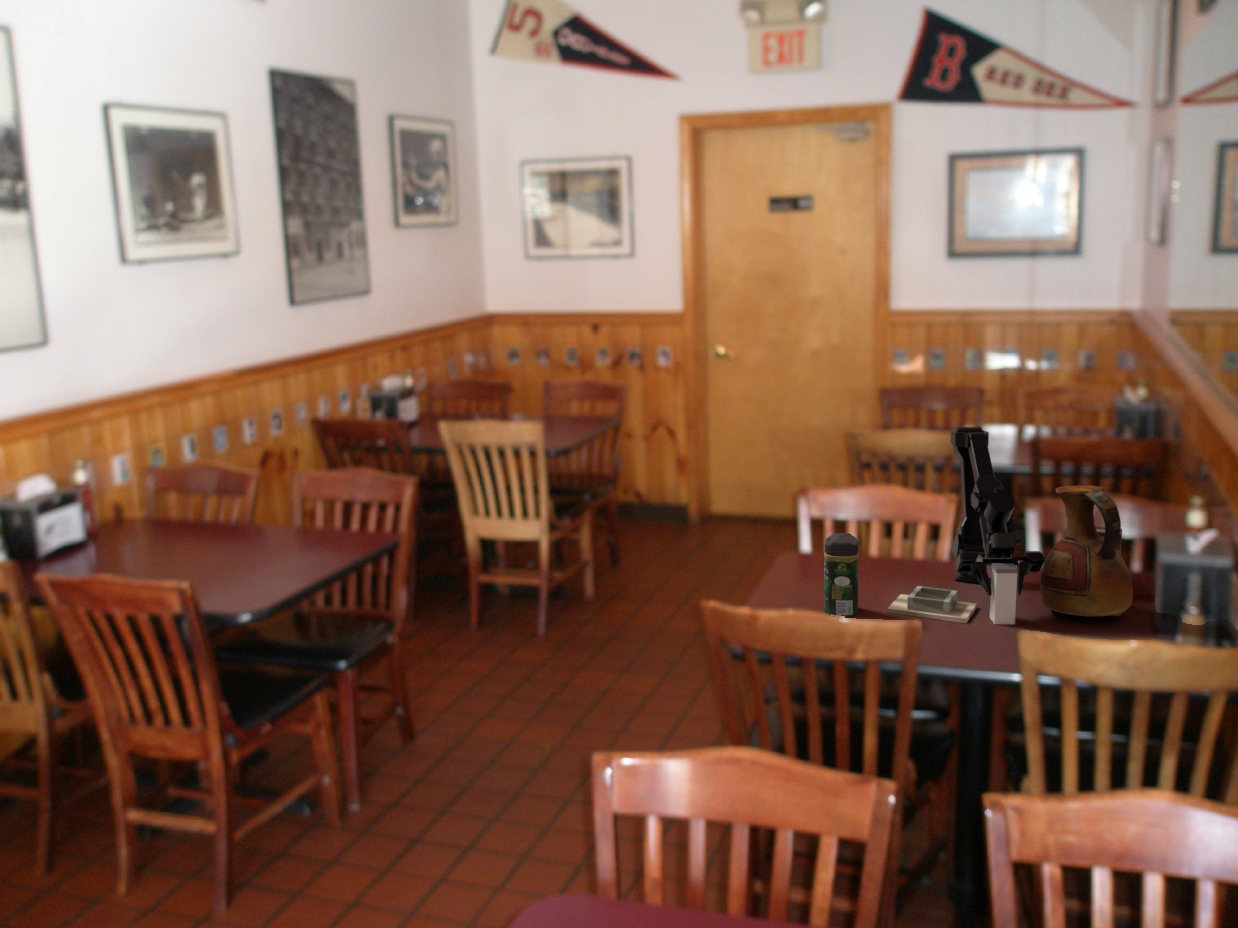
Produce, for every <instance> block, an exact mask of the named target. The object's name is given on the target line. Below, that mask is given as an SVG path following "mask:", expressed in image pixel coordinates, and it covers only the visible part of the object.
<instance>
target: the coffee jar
mask: <svg viewBox="0 0 1238 928" xmlns="http://www.w3.org/2000/svg"><path fill="white" fill-rule="evenodd" d="M859 544H860V543H859V539H857V537H856V536H854V535H853V534H851V533H850V532H848V533H845V532H835V533H833V534H831V535H829V536H828V537H826V538H825V542H824V553H823V554H824V555H823V557H824V561H823V563H824V564H823V565H824V566H823V578H824V579H823V583H824V585H823V587H824V589H823V592H824V593H823V594H824V595H823V597H824V598H823V599H824V600H823V605H824V607H823V608H824V612H825V614H826V613H829V614H833V615H841V616H847V617H846V618H851V617H855V616H856V615H857V613H858V611H859V610H858V609H859V552H860V551H859Z"/></svg>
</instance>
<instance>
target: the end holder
mask: <svg viewBox="0 0 1238 928" xmlns="http://www.w3.org/2000/svg"><path fill="white" fill-rule="evenodd" d="M958 595H959V594H958V590H953V589H947V588H946V589H945V588H940V587H938V588H937V587H930V586H924V585H922V586H921V585H917V586H916V587H915V588H914V589H913V590H912V591H911V593H909V594H905V593H900V594H899V595H898V596H897V598H896V599H894V601H893V602H892V603H891V604H890V605H889V606H888V608H887V612H886V613H887V614H888V613H889V614H895V615H902V616H910V617H918V618H922V619H923V618H925V619H932V620H937V621H938V620H939V621H947V622H954V623H961V624H967V623H968V621H969V620H970V618H971V617H972V615H973V614H974V613H975V611H976V609H978V608H977V607H978V603H977V602H976V603H974V602H968V601H958Z"/></svg>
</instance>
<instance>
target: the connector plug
mask: <svg viewBox="0 0 1238 928" xmlns="http://www.w3.org/2000/svg"><path fill="white" fill-rule="evenodd" d="M1017 573H1018V569H1017V568H1016V566H1015V565H1014V564H1013V563H992V565H991V574H990V575H991V577H990V586H991V592H992V594H991V596H990V598H989V599H990V600H989V602H990V604H989V619H990V621H993V622H992V623H993V625H1015V624H1016V607H1017V606H1016V605H1017Z"/></svg>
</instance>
